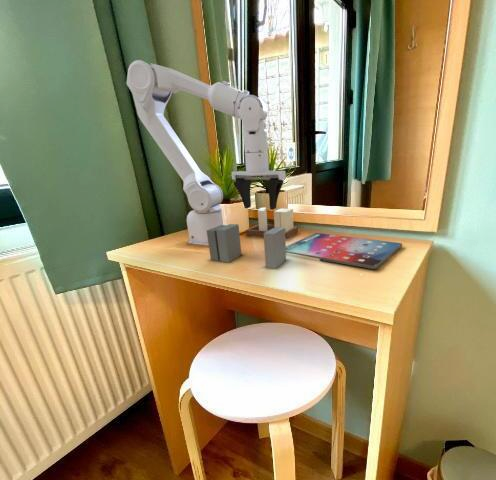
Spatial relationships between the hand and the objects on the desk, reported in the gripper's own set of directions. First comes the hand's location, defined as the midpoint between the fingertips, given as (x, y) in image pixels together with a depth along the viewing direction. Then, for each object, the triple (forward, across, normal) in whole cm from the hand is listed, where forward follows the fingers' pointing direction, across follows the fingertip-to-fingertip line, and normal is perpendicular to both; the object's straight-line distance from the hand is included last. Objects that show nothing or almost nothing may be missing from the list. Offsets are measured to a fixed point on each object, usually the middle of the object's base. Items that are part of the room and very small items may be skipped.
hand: (260, 208), depth 80 cm
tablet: (+9, -22, 0) cm, 24 cm away
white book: (+9, +4, -8) cm, 13 cm away
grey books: (+9, -4, +14) cm, 17 cm away
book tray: (+9, +1, -8) cm, 12 cm away
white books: (+9, -3, -8) cm, 12 cm away
